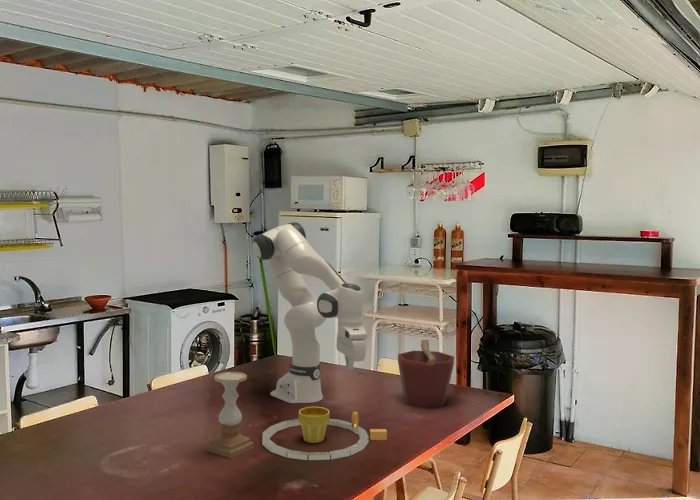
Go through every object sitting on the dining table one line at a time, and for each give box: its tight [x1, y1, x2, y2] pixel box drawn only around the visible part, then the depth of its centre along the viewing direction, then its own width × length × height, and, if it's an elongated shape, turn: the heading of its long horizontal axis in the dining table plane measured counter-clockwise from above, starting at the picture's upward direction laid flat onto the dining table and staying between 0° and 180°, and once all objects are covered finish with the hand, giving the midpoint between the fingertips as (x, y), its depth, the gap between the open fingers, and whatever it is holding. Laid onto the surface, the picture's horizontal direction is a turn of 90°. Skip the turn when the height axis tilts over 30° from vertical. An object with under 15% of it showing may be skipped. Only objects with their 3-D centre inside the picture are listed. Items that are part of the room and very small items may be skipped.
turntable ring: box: [261, 410, 370, 461], centre depth 209 cm, size 35×35×6 cm
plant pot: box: [298, 406, 331, 444], centre depth 209 cm, size 10×10×10 cm
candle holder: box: [205, 371, 255, 459], centre depth 199 cm, size 11×11×24 cm
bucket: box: [397, 339, 455, 409], centre depth 254 cm, size 24×22×25 cm
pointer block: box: [369, 428, 388, 441], centre depth 211 cm, size 6×2×3 cm, turn 95°
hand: (349, 368), depth 223 cm, fingers closed
